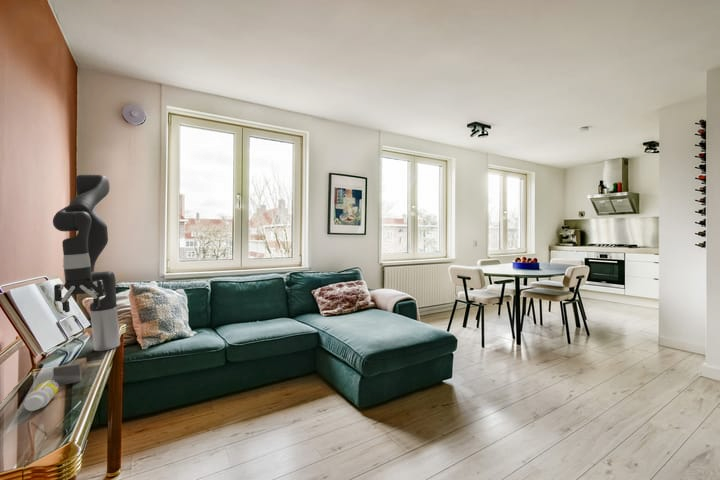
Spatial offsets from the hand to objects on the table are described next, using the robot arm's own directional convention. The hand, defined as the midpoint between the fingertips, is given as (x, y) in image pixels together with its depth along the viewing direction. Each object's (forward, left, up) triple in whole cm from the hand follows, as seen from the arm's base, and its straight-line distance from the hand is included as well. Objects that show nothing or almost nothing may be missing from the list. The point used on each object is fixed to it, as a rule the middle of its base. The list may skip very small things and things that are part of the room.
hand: (81, 310), depth 124 cm
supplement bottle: (+20, -4, -19) cm, 28 cm away
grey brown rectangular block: (+5, -2, -22) cm, 23 cm away
